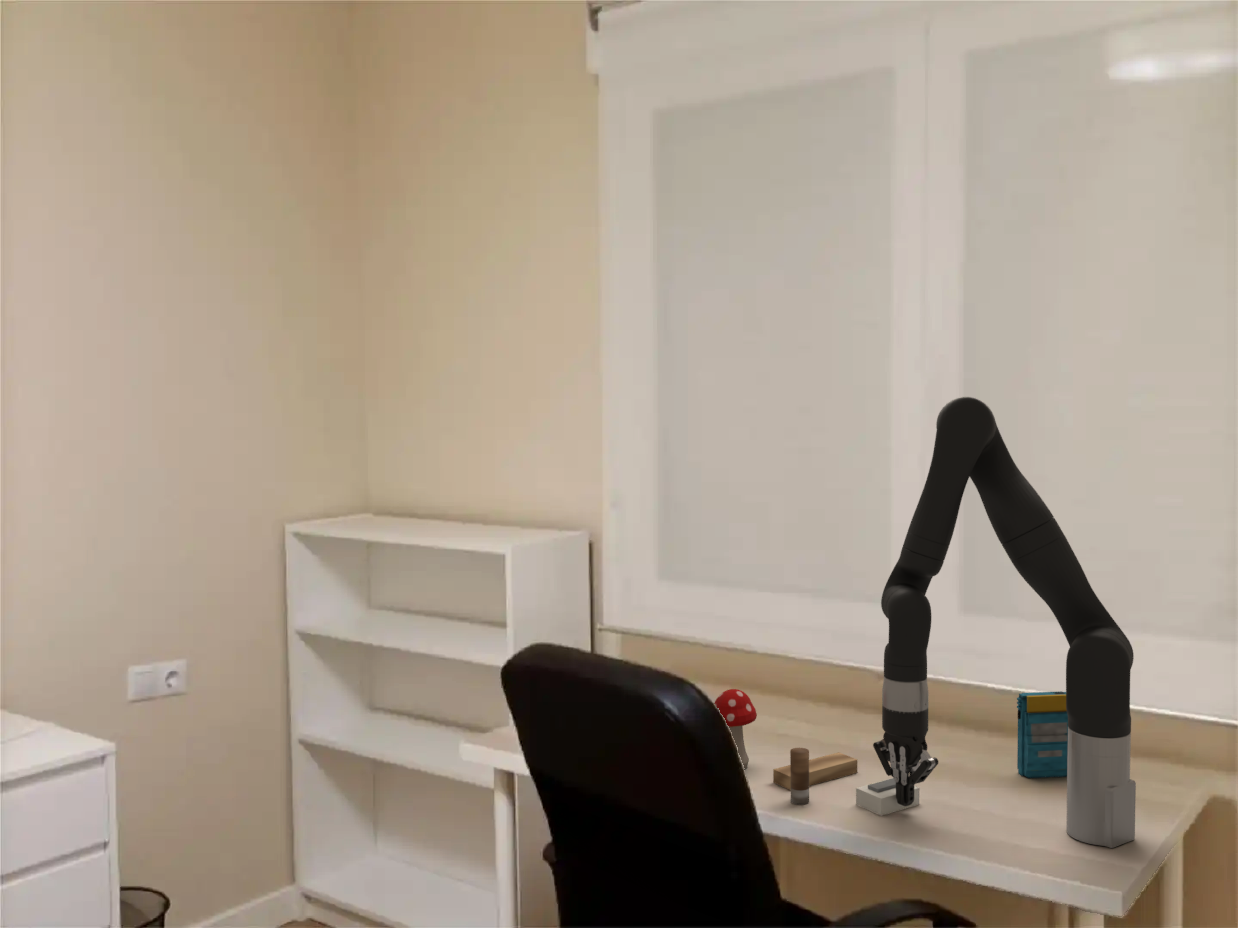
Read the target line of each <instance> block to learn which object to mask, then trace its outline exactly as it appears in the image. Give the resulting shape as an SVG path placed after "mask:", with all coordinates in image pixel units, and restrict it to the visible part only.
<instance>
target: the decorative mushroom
mask: <svg viewBox="0 0 1238 928" xmlns="http://www.w3.org/2000/svg"><path fill="white" fill-rule="evenodd" d="M714 704H715V706H716V707H717V708H719V710H720V713H721V714H722V715H723V717H724V718H725V720H726V723H727V725H728V726H729V728H730V730H731V732H732V736H733V738H734V740H735V743H736V745H737V747H738V753H739V755H740V757H741V760H742V763H743V765H744V768H745V770H746V769H747V768H748V766H749V765H748V764H749V762H750V760H749V759H750V758H749V756H748V753H747V750H746V746H745V745H746V744H745V738H744V731H743V730H744V729H743V726H747V725H750V724H752V723H753V722H755V721H756V719H757V717H758V716H757V715H758V713H757V710H756V708H755V705H754V704H753V702H752V701H751V698H750V696H749V695H748V694H747V693H745V692H744V691H743V690H741V689H737V688H731V689H727V690H724V691H723V692H721V693H720V694H719V695H718V696H717V698H716V699H715V700H714ZM714 704H713V705H714Z"/></svg>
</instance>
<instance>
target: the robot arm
mask: <svg viewBox="0 0 1238 928" xmlns="http://www.w3.org/2000/svg"><path fill="white" fill-rule="evenodd" d="M935 425H936V427H935V428H936V431H935V432H936V433H935V440H934V446H933V452H932V457H931V462H930V465H929V469H928V474H927V476H926V480H925V484H924V486H923V489H922V492H921V495H920V497H919V500H918V502H917V505H916V508H915V510H914V513H913V516H912V518H911V521H910V524H909V527H908V529H907V532H906V535H905V539H904V542H903V544H902V548H901V551H900V555H899V558H898V560H897V562H896V564H895V566H894V567H893V569H892V571H891V573H890V575H889V576H888V579H887V581H886V583H885V586H884V588H883V591H882V595H881V599H880V601H881V602H880V608H881V610H882V613H883V615H884V616H885V618H887V620H888V643H887V644H886V645H885V647H884V653H883V680H882V681H883V683H882V689H881V690H882V691H881V695H882V697H881V701H882V704H881V706H882V707H881V717H882V718H881V725H882V727H881V728H882V730H883V732H884V733H883V738H882V739H881V740H878V741H875V742H874V743H872V747H873V750H874V752H876V755H877V757H878V759H879V761H880V764H881V766H882V767H883V770H884V771H885V774H886V775H887V776H888V777H889V776H891V778H894V781H895V782H896V799H897V803H898V804H900V805H903V806H909V805H911V804H912V803H913V802H914V786H916V785H917V784H920V783H924V782H925V781H926V779H927V778H928V777H929V776H930V774H931V773H932V772H933V771H934V769H936V767H937V766H938V765H939V760H938V758H937V757H932V756H931V755H930V753H929V752H928V744H927V740H926V736H927V735H928V734H927V733H928V732H929V694H930V693H929V685H928V655H927V654H928V653H927V651H928V646H929V641H930V636H931V635H930V634H931V630H932V629H931V628H932V607H931V603H930V600H929V599H928V597H927V595H926V594H927V591H928V588H929V586H930V584H931V581H932V579H933V577H935V576H937V575H938V574H939V573H940V571H941V570H942V567H943V565H944V562H945V559H946V556H947V553H948V550H949V548H950V544H951V541H952V539H953V535H954V531H955V528H956V524H957V519H958V516H959V512H960V507H961V504H962V499H963V496H964V492H965V489H966V486H967V484H968V481H969V478H970V480H971V481H972V483H973V485H974V486H975V488H976V490H977V492H978V494H979V497H980V500H981V502H982V506H983V508H984V509H985V512H986V514H987V515H986V516H987V517H988V520H989V522H990V524H991V526H992V527H991V528H992V529H993V530H994V533H995V535H996V537H997V539H998V541H999V542H1000V544H1001V546H1002V548H1003V550H1004V551H1005V553H1006V554H1007V555H1006V556H1007V557H1008V558H1009V560H1010V562H1011V564H1012V565H1013V566H1014V569H1015V570H1016V571H1017V572H1018V573H1019V575H1020V577H1022V579H1024V581H1025V582H1026V583H1027V584H1028V585H1029V587H1030V588H1031V589H1032V590H1034V592H1035V593H1036V594H1037V595H1038V596H1039V597H1040V598H1041V599H1042V601H1043V602H1044V603H1045V604H1046V605H1047V607H1049V609H1050V610H1051V612H1052V614H1053V616H1054V617H1055V619H1056V620H1057V623H1058V624H1059V626H1060V628H1061V630H1062V632H1063V635H1064V636H1065V638H1066V642H1067V643H1068V645H1069V648H1068V651H1067V654H1066V662H1065V663H1066V664H1065V692H1066V710H1067V714H1068V756H1067V777H1066V830H1065V831H1066V833H1067V834H1068V836H1070V837H1072V838H1073V839H1075V840H1077V841H1079V842H1081V843H1085V844H1089V845H1095V846H1103V847H1106V848H1110V849H1113V848H1116V847H1118V846H1121V845H1124V844H1126V843H1129V842H1132V841H1134V840H1135V839H1136V838H1135V837H1136V800H1137V799H1136V794H1137V793H1136V790H1137V785H1136V783H1137V782H1136V781H1135V780H1134V779H1131V744H1132V743H1131V739H1132V738H1131V737H1132V715H1131V669H1132V667H1133V663H1134V660H1135V659H1134V657H1135V656H1134V650H1133V647H1132V644H1131V642H1130V640H1129V638H1128V637H1127V635H1126V634H1125V633H1124V632H1123V630H1122V628H1120V626H1119V625H1118V623H1117V622H1116V621H1115V620H1114V618H1113V617H1112V616H1111V614H1110V613H1109V612H1108V610H1107V609H1106V607H1105V606H1104V604H1103V603H1102V602H1101V600H1100V599H1099V597H1098V596H1097V593H1095V591H1094V590H1093V588H1092V586H1091V584H1090V581H1089V580H1088V578H1087V576H1086V574H1085V571H1084V569H1083V567H1082V565H1081V563H1080V562H1079V559H1078V558H1077V557H1078V556H1076V554H1075V552H1074V550H1073V549H1072V546H1071V545H1070V543H1069V541H1068V539H1067V537H1066V535H1065V534H1064V532H1063V530H1062V528H1061V526H1060V525H1059V523H1058V521H1057V520H1056V519H1055V516H1054V515H1053V513H1052V511H1051V510H1050V509H1049V507H1048V506H1047V504H1046V503H1045V502H1044V500H1043V498H1042V497H1041V496H1040V494H1039V493H1038V492H1037V491H1036V489H1035V488H1034V486H1033V485H1032V484H1031V483H1030V482H1029V481H1028V479H1027V478H1026V476H1024V475H1023V473H1022V472H1021V470H1020V469H1019V468H1018V466H1017V464H1016V463H1015V461H1014V460H1013V457H1012V455H1011V453H1010V452H1009V450H1008V447H1007V444H1006V443H1005V441H1004V439H1003V437H1002V435H1001V433H1000V430H999V427H998V425H997V421H996V418H995V415H994V413H993V411H992V410H991V408H990V407H989V406H988V404H986V403H985V402H984V401H982V400H981V399H979V398H976V397H972V396H960V397H956V398H954V399H952V400H950V401H948V402H946V404H945V405H944V406H943V407H942V408H941V410H940V411H939V413H938V415H937V418H936V423H935Z"/></svg>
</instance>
